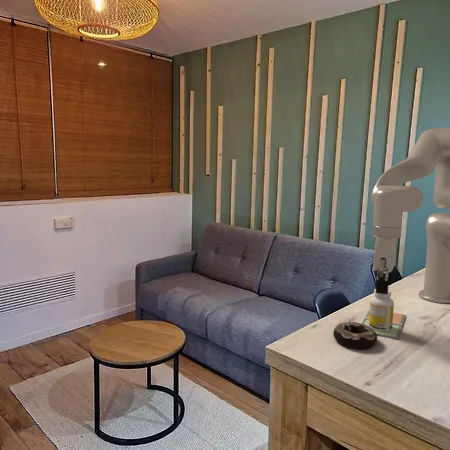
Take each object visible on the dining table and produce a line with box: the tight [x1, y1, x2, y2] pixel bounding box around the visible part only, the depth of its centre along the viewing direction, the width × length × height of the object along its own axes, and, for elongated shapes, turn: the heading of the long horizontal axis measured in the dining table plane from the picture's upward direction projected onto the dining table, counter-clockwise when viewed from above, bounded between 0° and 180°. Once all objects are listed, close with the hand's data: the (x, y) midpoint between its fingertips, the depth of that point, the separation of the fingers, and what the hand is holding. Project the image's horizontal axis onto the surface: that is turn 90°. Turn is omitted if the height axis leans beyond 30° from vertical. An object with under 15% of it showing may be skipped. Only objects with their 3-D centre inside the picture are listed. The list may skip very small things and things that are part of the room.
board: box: [361, 309, 406, 340], centre depth 122 cm, size 20×11×1 cm, turn 150°
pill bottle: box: [369, 288, 395, 331], centre depth 116 cm, size 6×6×12 cm
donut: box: [332, 321, 378, 350], centre depth 109 cm, size 12×12×4 cm
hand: (384, 288), depth 116 cm, fingers open, 9 cm apart
